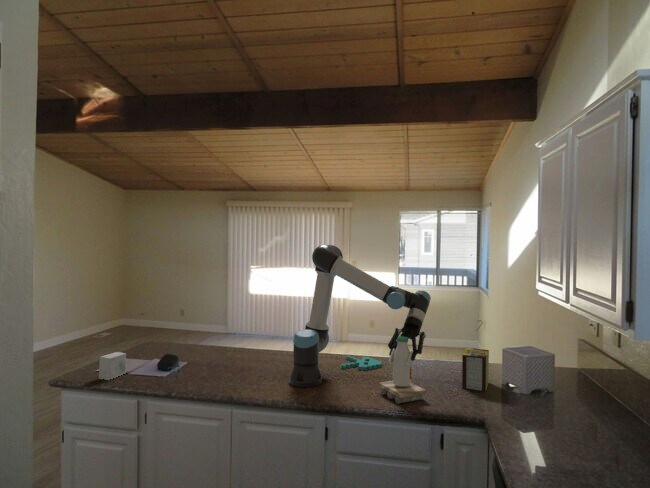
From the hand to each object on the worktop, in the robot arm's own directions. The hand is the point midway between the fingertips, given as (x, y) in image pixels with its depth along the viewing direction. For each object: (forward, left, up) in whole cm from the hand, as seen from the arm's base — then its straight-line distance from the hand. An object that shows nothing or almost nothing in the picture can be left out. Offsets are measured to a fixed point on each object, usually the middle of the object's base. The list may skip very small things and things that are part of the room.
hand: (398, 364), depth 179 cm
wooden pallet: (-2, +3, -14) cm, 15 cm away
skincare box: (-80, -108, -15) cm, 135 cm away
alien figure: (-51, +13, -15) cm, 54 cm away
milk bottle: (-2, +3, -9) cm, 10 cm away
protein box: (-1, +44, -15) cm, 46 cm away
